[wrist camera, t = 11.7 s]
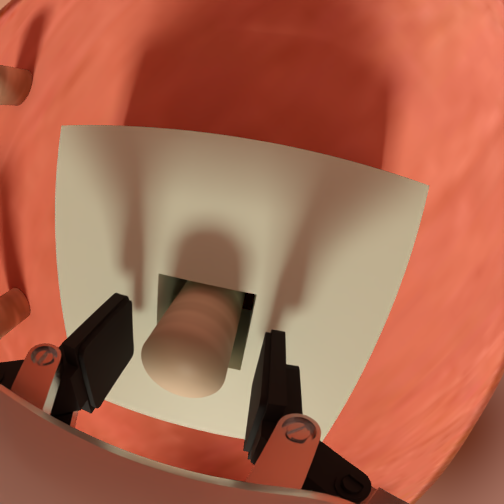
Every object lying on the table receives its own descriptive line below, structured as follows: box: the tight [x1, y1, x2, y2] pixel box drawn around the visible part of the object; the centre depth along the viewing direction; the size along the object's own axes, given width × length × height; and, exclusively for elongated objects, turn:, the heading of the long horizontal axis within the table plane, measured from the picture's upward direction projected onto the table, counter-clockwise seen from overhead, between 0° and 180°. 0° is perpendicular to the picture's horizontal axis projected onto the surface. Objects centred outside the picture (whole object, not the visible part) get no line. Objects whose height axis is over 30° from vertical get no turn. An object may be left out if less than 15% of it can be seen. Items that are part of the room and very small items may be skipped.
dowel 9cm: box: [141, 280, 246, 398], centre depth 14 cm, size 3×3×9 cm
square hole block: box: [55, 125, 429, 442], centre depth 15 cm, size 16×16×6 cm
